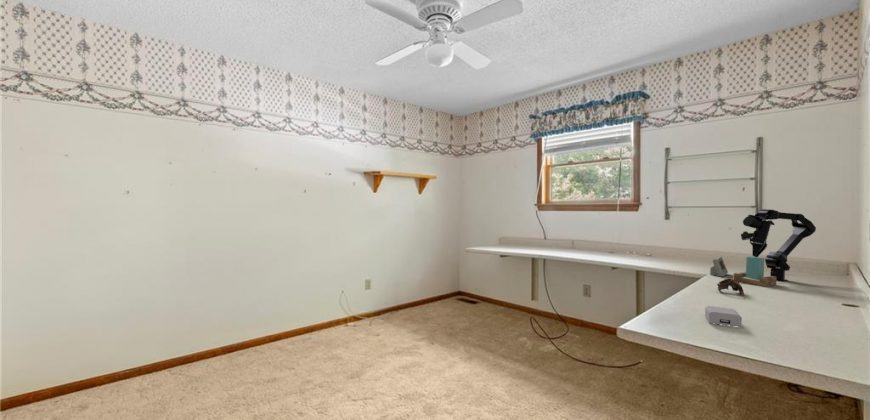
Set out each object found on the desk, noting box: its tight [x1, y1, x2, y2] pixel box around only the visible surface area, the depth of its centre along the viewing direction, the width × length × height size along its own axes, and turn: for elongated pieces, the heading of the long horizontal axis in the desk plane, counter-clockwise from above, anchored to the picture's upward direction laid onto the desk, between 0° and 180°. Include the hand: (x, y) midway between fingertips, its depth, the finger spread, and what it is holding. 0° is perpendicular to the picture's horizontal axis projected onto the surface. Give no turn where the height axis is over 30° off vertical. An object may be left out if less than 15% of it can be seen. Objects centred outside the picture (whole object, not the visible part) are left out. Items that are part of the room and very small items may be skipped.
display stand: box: [733, 271, 777, 288], centre depth 201 cm, size 12×14×4 cm
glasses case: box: [745, 255, 765, 280], centre depth 201 cm, size 6×6×12 cm
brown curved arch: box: [716, 277, 745, 297], centre depth 178 cm, size 12×10×8 cm
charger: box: [704, 305, 743, 328], centre depth 137 cm, size 5×9×15 cm
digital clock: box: [709, 256, 729, 278], centre depth 223 cm, size 16×9×11 cm, turn 122°
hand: (754, 256), depth 209 cm, fingers open, 9 cm apart
